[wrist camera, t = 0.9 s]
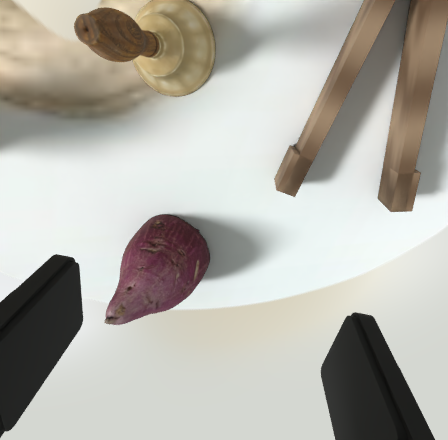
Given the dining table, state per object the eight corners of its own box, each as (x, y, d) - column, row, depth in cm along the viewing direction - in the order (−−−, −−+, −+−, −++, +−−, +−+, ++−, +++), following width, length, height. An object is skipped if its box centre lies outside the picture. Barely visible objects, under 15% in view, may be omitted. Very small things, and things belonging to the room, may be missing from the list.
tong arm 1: (421, -63, 23) (448, -84, 20) (449, -66, 23) (480, -89, 19) (377, 198, 32) (390, 211, 29) (396, 197, 32) (412, 211, 29)
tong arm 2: (390, -75, 23) (412, -98, 19) (413, -64, 23) (439, -86, 20) (274, 179, 33) (276, 190, 29) (290, 185, 33) (294, 197, 30)
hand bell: (179, 114, 31) (115, 149, 17) (114, 52, 29) (-22, 33, 14) (233, 46, 28) (213, 19, 13) (165, -28, 25) (54, -155, 11)
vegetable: (140, 253, 43) (56, 331, 31) (152, 197, 37) (54, 265, 25) (202, 288, 42) (139, 383, 30) (224, 234, 36) (157, 326, 24)
